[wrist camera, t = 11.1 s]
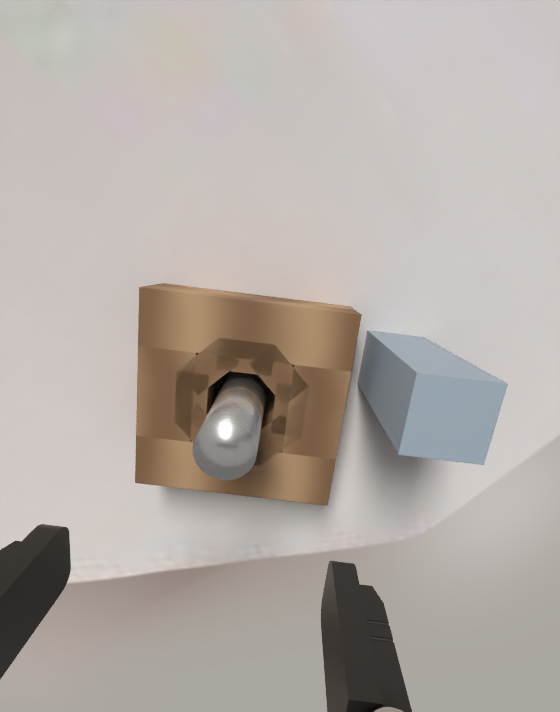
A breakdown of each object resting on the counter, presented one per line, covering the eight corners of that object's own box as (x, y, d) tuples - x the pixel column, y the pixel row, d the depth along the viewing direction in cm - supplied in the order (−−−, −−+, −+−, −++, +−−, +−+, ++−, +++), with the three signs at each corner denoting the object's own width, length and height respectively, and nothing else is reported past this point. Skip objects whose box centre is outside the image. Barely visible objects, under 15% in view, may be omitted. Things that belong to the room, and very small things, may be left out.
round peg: (270, 365, 26) (260, 426, 16) (265, 404, 27) (253, 483, 17) (228, 360, 26) (194, 418, 16) (225, 399, 27) (190, 476, 17)
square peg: (423, 337, 25) (507, 383, 16) (411, 390, 26) (483, 464, 17) (367, 330, 25) (416, 372, 16) (357, 384, 26) (398, 454, 17)
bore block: (350, 306, 25) (361, 314, 21) (321, 472, 28) (327, 505, 24) (162, 283, 25) (139, 287, 21) (156, 452, 28) (135, 482, 24)
